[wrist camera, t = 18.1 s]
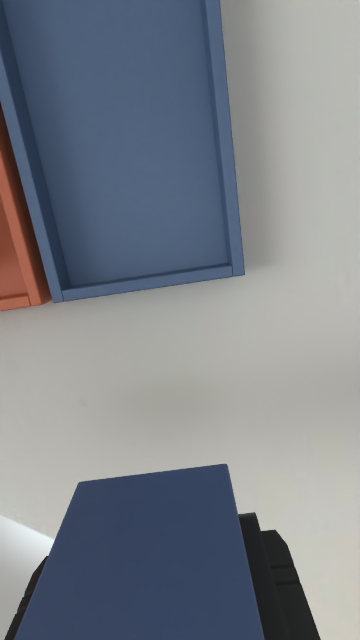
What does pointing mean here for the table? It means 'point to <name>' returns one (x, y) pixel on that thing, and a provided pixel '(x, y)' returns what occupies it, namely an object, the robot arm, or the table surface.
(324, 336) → the table surface
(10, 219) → the terracotta tray
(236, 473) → the table surface
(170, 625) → the slate block
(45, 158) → the slate tray
